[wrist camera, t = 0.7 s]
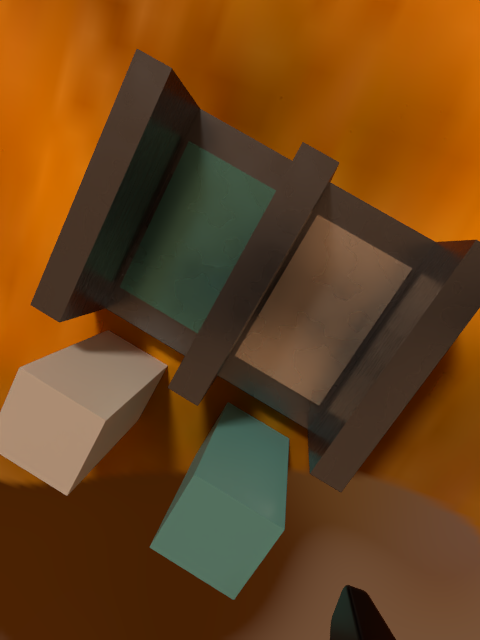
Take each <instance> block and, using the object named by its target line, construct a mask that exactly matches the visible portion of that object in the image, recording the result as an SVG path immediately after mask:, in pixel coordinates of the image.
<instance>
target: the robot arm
mask: <svg viewBox="0 0 480 640" xmlns="http://www.w3.org/2000/svg"><path fill="white" fill-rule="evenodd" d="M330 640H396V639H395V637H394V636H393V634H392V633H391V631H390V629H389V628H388V626H387V624H386V623H385V621H384V619H383V618H382V616H381V614H380V613H379V611H378V610H377V608H376V606H375V605H374V603H373V601H372V600H371V598H370V597H369V595H368V594H367V593H366V592H365V591H364V590H361V589H358V588H355V587H352V586H350V585H347V586H345V587H344V588H343V590H342V592H341V595H340V598H339V600H338V603H337V605H336V608H335V611H334V613H333V616H332V621H331V629H330Z"/></svg>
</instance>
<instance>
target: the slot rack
mask: <svg viewBox="0 0 480 640" xmlns="http://www.w3.org/2000/svg"><path fill="white" fill-rule="evenodd" d="M338 165H339V162H337V161H336V160H334V159H332V158H330V157H328V156H327V155H325V154H323V153H321V152H320V151H318V150H316V149H314V148H312V147H311V146H309V145H307V144H305V143H304V142H303V143H302V145H301V147H300V148H299V150H298V152H297V154H296V156H295V158H294V159H293V161H291V160H289V159H288V158H286V157H284V156H282V155H281V154H279V153H277V152H275V151H274V150H272V149H270V148H268V147H267V146H265V145H263V144H261V143H259V142H258V141H256V140H254V139H252V138H251V137H249V136H247V135H245V134H244V133H242V132H240V131H238V130H237V129H235V128H233V127H231V126H229V125H228V124H226V123H224V122H222V121H221V120H219V119H217V118H215V117H214V116H212V115H210V114H208V113H206V112H205V111H203V110H201V109H200V108H199V107H198V105H197V104H196V102H195V101H194V99H193V98H192V96H191V95H190V94H189V92H188V91H187V89H186V88H185V86H184V85H183V84H182V82H181V81H180V79H179V78H178V76H177V75H176V74H175V72H174V71H173V69H172V68H170V67H169V66H167V65H165V64H163V63H162V62H160V61H158V60H156V59H154V58H153V57H151V56H149V55H147V54H146V53H144V52H142V51H140V50H138V49H137V50H136V52H135V55H134V57H133V59H132V62H131V64H130V67H129V69H128V71H127V74H126V76H125V79H124V81H123V83H122V86H121V88H120V91H119V93H118V95H117V98H116V100H115V103H114V105H113V107H112V110H111V112H110V115H109V117H108V119H107V122H106V124H105V127H104V129H103V132H102V134H101V136H100V139H99V141H98V144H97V146H96V148H95V151H94V153H93V156H92V158H91V160H90V163H89V165H88V168H87V170H86V172H85V175H84V177H83V180H82V182H81V184H80V187H79V189H78V192H77V194H76V196H75V199H74V201H73V204H72V206H71V208H70V211H69V213H68V216H67V218H66V221H65V223H64V225H63V228H62V230H61V233H60V235H59V237H58V240H57V242H56V245H55V247H54V249H53V252H52V254H51V257H50V259H49V261H48V264H47V266H46V269H45V271H44V273H43V276H42V278H41V281H40V283H39V285H38V288H37V290H36V293H35V295H34V298H33V300H32V302H31V305H32V306H33V307H35V308H37V309H38V310H40V311H42V312H43V313H45V314H46V315H48V316H50V317H51V318H53V319H55V320H56V321H58V322H62V321H66V320H69V319H72V318H76V317H79V316H82V315H85V314H89V313H92V312H95V311H99V310H102V309H105V308H106V309H108V310H109V311H111V312H113V313H115V314H116V315H118V316H120V317H121V318H123V319H125V320H126V321H128V322H130V323H131V324H133V325H135V326H136V327H138V328H140V329H141V330H143V331H145V332H146V333H148V334H150V335H151V336H153V337H155V338H156V339H158V340H160V341H161V342H163V343H165V344H166V345H168V346H170V347H171V348H173V349H175V350H176V351H178V352H180V353H181V354H183V355H185V357H184V359H183V361H182V363H181V364H180V366H179V368H178V370H177V372H176V374H175V375H174V377H173V379H172V381H171V383H170V384H169V386H168V388H169V389H171V390H172V391H174V392H176V393H177V394H179V395H181V396H182V397H184V398H185V399H187V400H189V401H190V402H192V403H194V404H195V405H197V406H198V405H199V403H200V402H201V400H202V399H203V397H204V395H205V394H206V392H207V391H208V389H209V388H210V386H211V385H212V383H213V382H214V380H215V378H216V377H217V375H218V376H220V377H221V378H223V379H225V380H226V381H228V382H230V383H231V384H233V385H235V386H236V387H238V388H240V389H241V390H243V391H245V392H246V393H248V394H250V395H251V396H253V397H255V398H256V399H258V400H260V401H261V402H263V403H265V404H266V405H268V406H270V407H271V408H273V409H275V410H276V411H278V412H280V413H281V414H283V415H285V416H286V417H288V418H290V419H291V420H293V421H295V422H296V423H298V424H300V425H301V426H303V427H305V428H306V429H308V446H309V466H310V474H311V475H313V476H315V477H316V478H318V479H319V480H321V481H323V482H324V483H326V484H328V485H329V486H331V487H333V488H334V489H336V490H338V491H339V492H342V491H343V489H344V488H345V487H346V485H347V484H348V482H349V481H350V480H351V479H352V477H353V476H354V475H355V473H356V472H357V471H358V469H359V468H360V467H361V465H362V464H363V463H364V461H365V460H366V459H367V457H368V456H369V455H370V453H371V452H372V451H373V449H374V448H375V447H376V445H377V444H378V443H379V441H380V440H381V439H382V437H383V436H384V435H385V433H386V432H387V431H388V429H389V428H390V426H391V425H392V424H393V422H394V421H395V420H396V418H397V417H398V416H399V414H400V413H401V412H402V410H403V409H404V408H405V406H406V405H407V404H408V402H409V401H410V400H411V398H412V397H413V396H414V394H415V393H416V392H417V390H418V389H419V388H420V386H421V385H422V384H423V382H424V381H425V380H426V378H427V377H428V376H429V374H430V373H431V372H432V370H433V369H434V368H435V366H436V365H437V364H438V362H439V361H440V360H441V358H442V357H443V356H444V354H445V353H446V352H447V350H448V349H449V348H450V346H451V345H452V344H453V342H454V341H455V340H456V338H457V337H458V336H459V334H460V333H461V332H462V330H463V329H464V328H465V326H466V325H467V324H468V322H469V321H470V320H471V318H472V317H473V316H474V314H475V313H476V312H477V310H478V309H479V308H480V242H479V241H478V240H463V241H447V242H434V241H433V240H431V239H429V238H427V237H425V236H424V235H422V234H420V233H418V232H417V231H415V230H413V229H411V228H410V227H408V226H406V225H404V224H403V223H401V222H399V221H397V220H395V219H394V218H392V217H390V216H388V215H387V214H385V213H383V212H381V211H380V210H378V209H376V208H374V207H372V206H371V205H369V204H367V203H365V202H364V201H362V200H360V199H358V198H357V197H355V196H353V195H351V194H350V193H348V192H346V191H344V190H342V189H341V188H339V187H337V186H335V185H334V184H332V183H330V182H331V180H332V178H333V176H334V173H335V171H336V169H337V167H338Z"/></svg>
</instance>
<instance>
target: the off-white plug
mask: <svg viewBox="0 0 480 640" xmlns="http://www.w3.org/2000/svg"><path fill="white" fill-rule="evenodd" d="M166 368H167V365H166V364H164V363H162V362H161V361H159V360H157V359H156V358H154V357H152V356H151V355H149V354H147V353H146V352H144V351H142V350H141V349H139V348H137V347H136V346H134V345H132V344H131V343H129V342H127V341H126V340H124V339H122V338H121V337H119V336H117V335H116V334H114V333H112V332H111V331H109V330H107V331H105V332H102V333H100V334H98V335H95V336H93V337H91V338H88V339H86V340H83V341H81V342H79V343H76V344H74V345H72V346H69V347H67V348H65V349H62V350H60V351H57V352H55V353H53V354H50V355H48V356H46V357H43V358H41V359H39V360H36V361H34V362H31V363H29V364H27V365H24V366H22V367H20V368H19V370H18V372H17V375H16V377H15V379H14V382H13V384H12V386H11V389H10V391H9V393H8V396H7V398H6V400H5V403H4V405H3V407H2V410H1V412H0V454H1V455H2V456H4V457H6V458H7V459H9V460H10V461H12V462H14V463H15V464H17V465H18V466H20V467H22V468H23V469H25V470H26V471H28V472H30V473H31V474H33V475H34V476H36V477H38V478H39V479H41V480H42V481H44V482H46V483H47V484H49V485H50V486H52V487H54V488H55V489H57V490H58V491H60V492H62V493H63V494H65V495H66V496H67V495H68V494H69V493H70V492H71V491H72V490H73V489H74V488H75V487H76V486H77V485H78V484H79V483H80V482H81V481H82V480H83V478H84V477H85V476H86V475H87V474H88V473H89V472H90V471H91V470H92V469H93V468H94V467H95V466H96V465H97V464H98V463H99V461H100V460H101V459H102V458H103V457H104V456H105V455H106V454H107V453H108V452H109V451H110V450H111V449H112V448H113V447H114V445H115V444H116V443H117V442H118V441H119V440H120V439H121V438H122V437H123V436H124V435H125V434H126V433H127V432H128V431H129V430H130V428H131V427H132V426H133V425H134V424H135V423H136V422H137V421H138V420H139V418H140V416H141V414H142V412H143V410H144V409H145V407H146V405H147V403H148V401H149V399H150V397H151V396H152V394H153V392H154V390H155V388H156V386H157V385H158V383H159V381H160V379H161V377H162V375H163V373H164V372H165V370H166Z"/></svg>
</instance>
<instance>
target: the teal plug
mask: <svg viewBox="0 0 480 640" xmlns="http://www.w3.org/2000/svg"><path fill="white" fill-rule="evenodd" d="M288 453H289V438H287V437H285V436H284V435H282V434H280V433H279V432H277V431H275V430H274V429H272V428H270V427H269V426H267V425H265V424H264V423H262V422H260V421H259V420H257V419H255V418H254V417H252V416H250V415H249V414H247V413H245V412H244V411H242V410H240V409H239V408H237V407H236V406H234V405H232V404H231V403H229V402H228V403H227V404H226V406H225V408H224V409H223V411H222V413H221V414H220V416H219V418H218V419H217V421H216V423H215V424H214V426H213V428H212V429H211V431H210V433H209V434H208V436H207V437H206V439H205V441H204V442H203V444H202V446H201V447H200V449H199V451H198V452H197V454H196V456H195V458H194V460H193V462H192V464H191V466H190V468H189V470H188V472H187V474H186V476H185V478H184V480H183V482H182V484H181V486H180V488H179V490H178V492H177V493H176V495H175V497H174V500H173V501H172V503H171V505H170V507H169V509H168V511H167V513H166V515H165V517H164V520H163V521H162V523H161V526H160V527H159V529H158V531H157V533H156V535H155V537H154V539H153V542H152V544H151V545H150V548H152V549H153V550H155V551H156V552H158V553H159V554H161V555H163V556H164V557H166V558H168V559H169V560H171V561H172V562H174V563H175V564H177V565H179V566H180V567H182V568H184V569H185V570H187V571H189V572H190V573H191V574H193V575H195V576H196V577H198V578H199V579H201V580H203V581H204V582H206V583H208V584H209V585H211V586H212V587H214V588H215V589H217V590H219V591H220V592H222V593H223V594H225V595H226V596H228V597H230V598H231V599H233V600H234V599H235V597H236V596H237V595H238V593H239V592H240V591H241V589H242V588H243V587H244V585H245V584H246V582H247V581H248V580H249V578H250V577H251V576H252V574H253V573H254V571H255V570H256V569H257V567H258V566H259V564H260V563H261V562H262V560H263V559H264V558H265V556H266V555H267V553H268V552H269V551H270V549H271V548H272V546H273V545H274V544H275V542H276V541H277V540H278V538H279V537H280V535H281V534H282V533H283V531H284V529H285V512H286V492H287V473H288Z"/></svg>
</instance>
